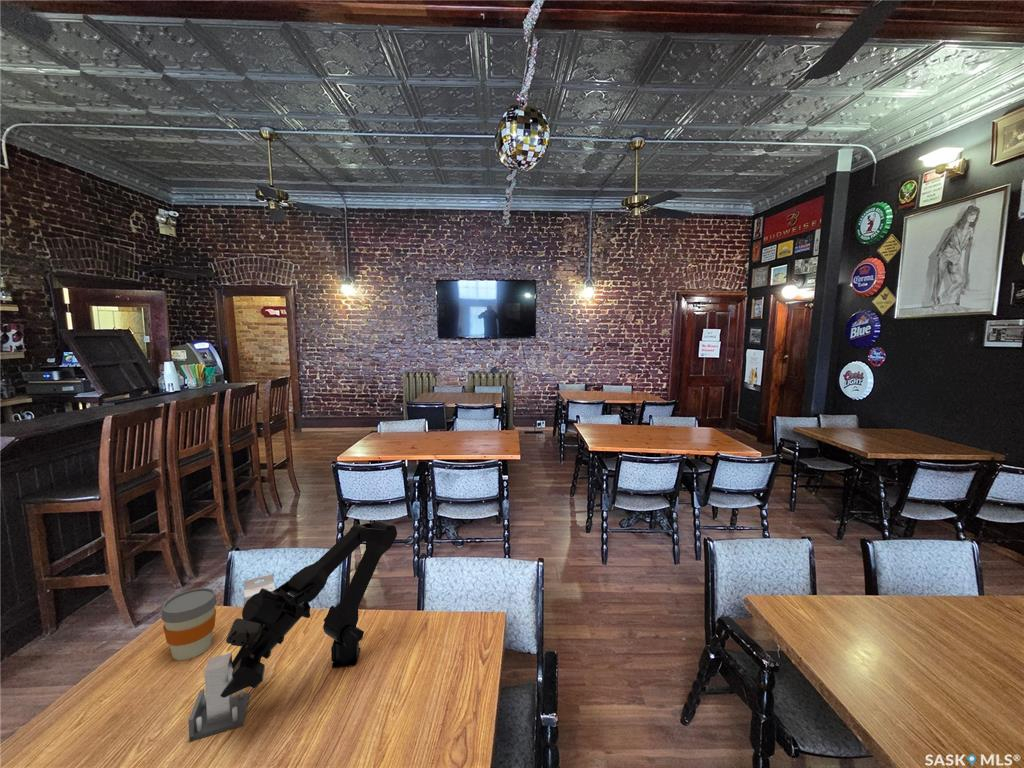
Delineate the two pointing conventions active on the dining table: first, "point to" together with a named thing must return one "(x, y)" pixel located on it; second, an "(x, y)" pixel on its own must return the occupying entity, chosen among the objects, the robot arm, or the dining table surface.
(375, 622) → the dining table surface
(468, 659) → the dining table surface
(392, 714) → the dining table surface
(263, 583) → the ink box
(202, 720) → the drive dock
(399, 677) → the dining table surface
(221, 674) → the silver tall square block
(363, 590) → the robot arm
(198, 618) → the reusable coffee cup
